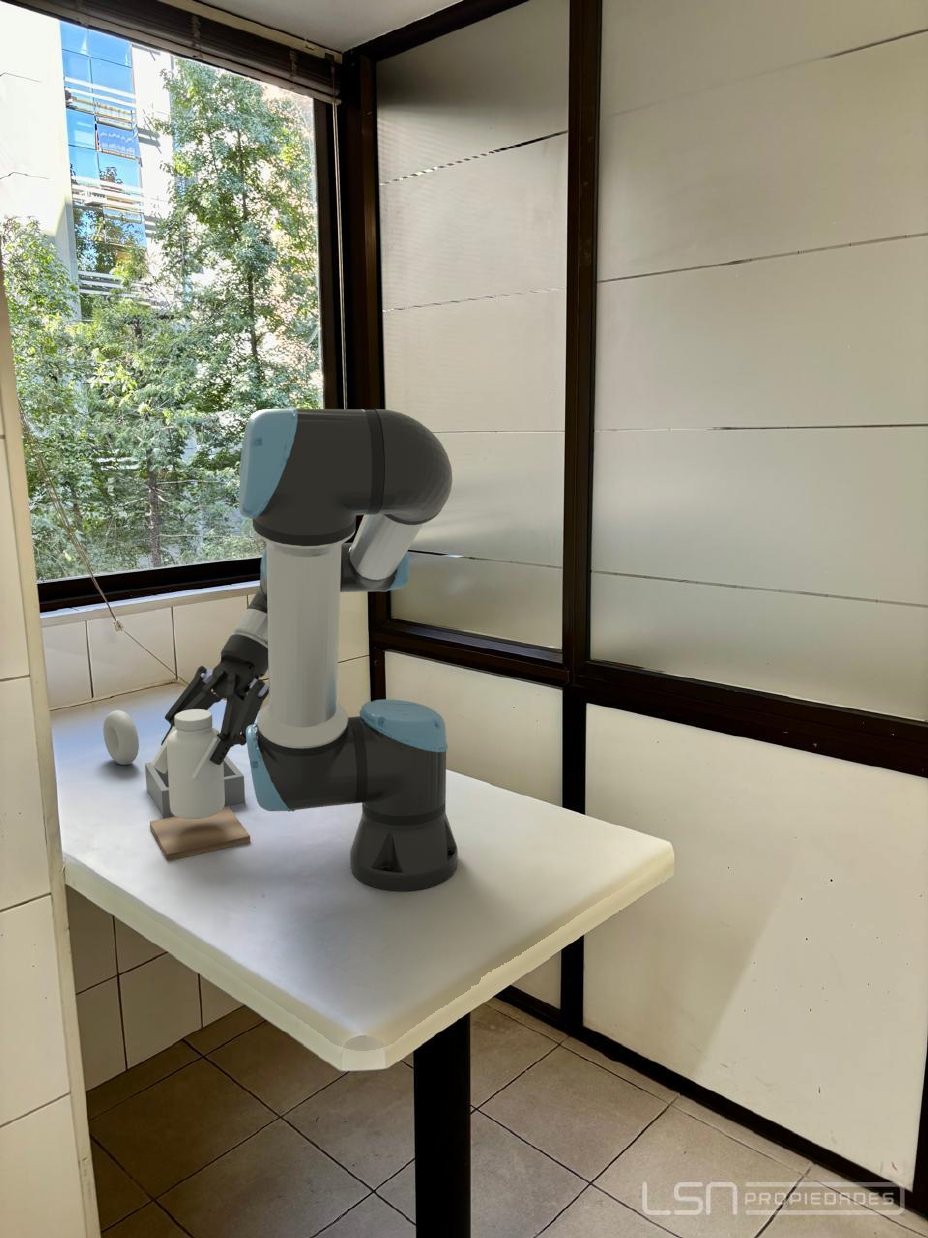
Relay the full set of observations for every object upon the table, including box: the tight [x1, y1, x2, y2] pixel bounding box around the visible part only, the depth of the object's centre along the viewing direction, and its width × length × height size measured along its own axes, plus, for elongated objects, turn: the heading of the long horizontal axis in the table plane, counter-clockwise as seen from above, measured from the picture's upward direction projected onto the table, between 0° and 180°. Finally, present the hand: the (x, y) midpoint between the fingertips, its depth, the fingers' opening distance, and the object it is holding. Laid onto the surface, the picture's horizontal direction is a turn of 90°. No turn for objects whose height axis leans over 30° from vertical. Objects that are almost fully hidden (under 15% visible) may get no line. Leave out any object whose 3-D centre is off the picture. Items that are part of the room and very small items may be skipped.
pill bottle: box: [167, 709, 225, 819], centre depth 134 cm, size 8×8×15 cm
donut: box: [102, 709, 140, 766], centre depth 163 cm, size 10×4×10 cm, turn 43°
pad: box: [149, 805, 251, 862], centre depth 136 cm, size 12×12×1 cm
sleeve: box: [144, 754, 246, 819], centre depth 150 cm, size 13×13×4 cm
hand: (177, 775), depth 132 cm, fingers closed on pill bottle, 8 cm apart
